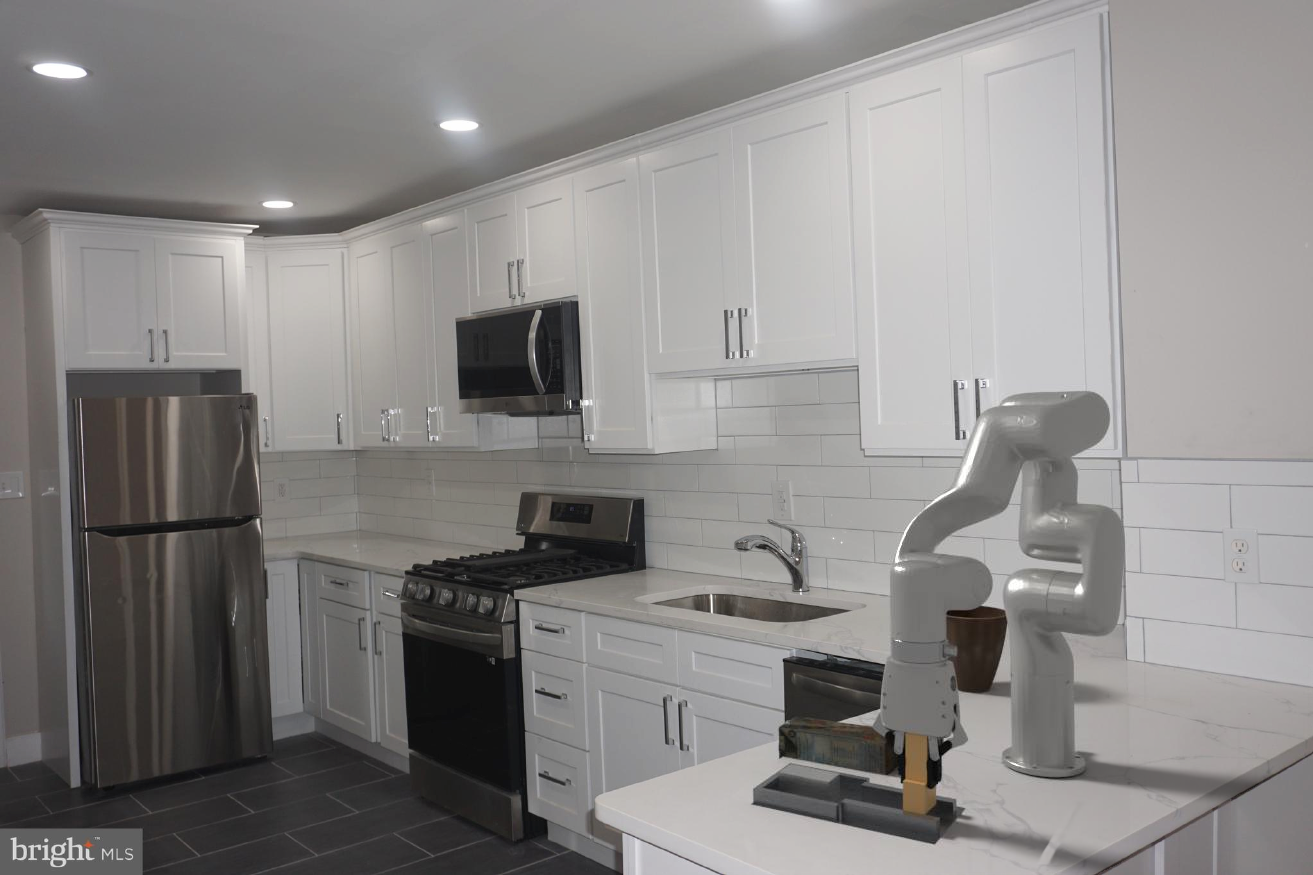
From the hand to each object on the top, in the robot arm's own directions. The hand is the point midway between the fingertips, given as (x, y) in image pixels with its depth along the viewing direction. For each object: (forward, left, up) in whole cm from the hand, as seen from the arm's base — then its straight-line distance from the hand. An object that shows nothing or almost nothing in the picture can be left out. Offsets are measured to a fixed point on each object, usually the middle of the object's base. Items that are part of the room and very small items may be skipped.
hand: (919, 782), depth 138 cm
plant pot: (-74, -14, -6) cm, 75 cm away
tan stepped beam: (0, 0, -3) cm, 3 cm away
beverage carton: (-18, -19, -7) cm, 27 cm away
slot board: (0, -9, -6) cm, 11 cm away
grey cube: (0, -15, -5) cm, 16 cm away
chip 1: (0, -19, -5) cm, 20 cm away
